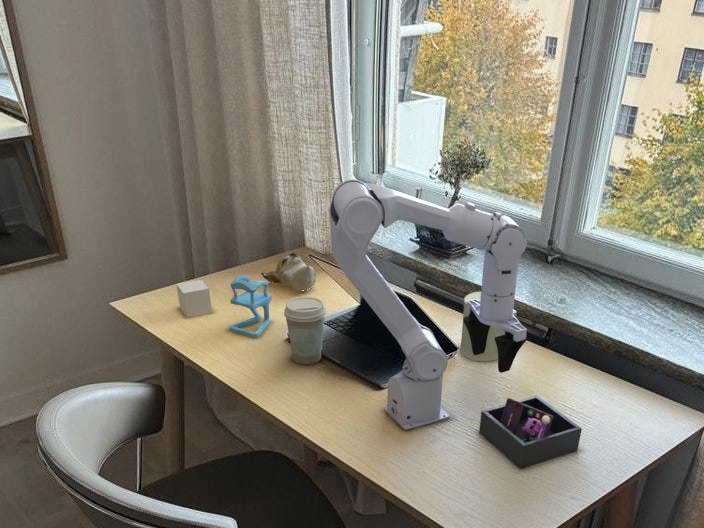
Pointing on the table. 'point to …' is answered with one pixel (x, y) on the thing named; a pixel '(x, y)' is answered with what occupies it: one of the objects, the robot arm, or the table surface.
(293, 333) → the coffee cup
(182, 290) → the grey cube
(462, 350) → the can
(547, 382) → the table surface
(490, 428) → the tub
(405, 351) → the robot arm
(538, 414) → the purple toy package
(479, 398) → the table surface
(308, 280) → the ceramic sculpture
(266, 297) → the chair
